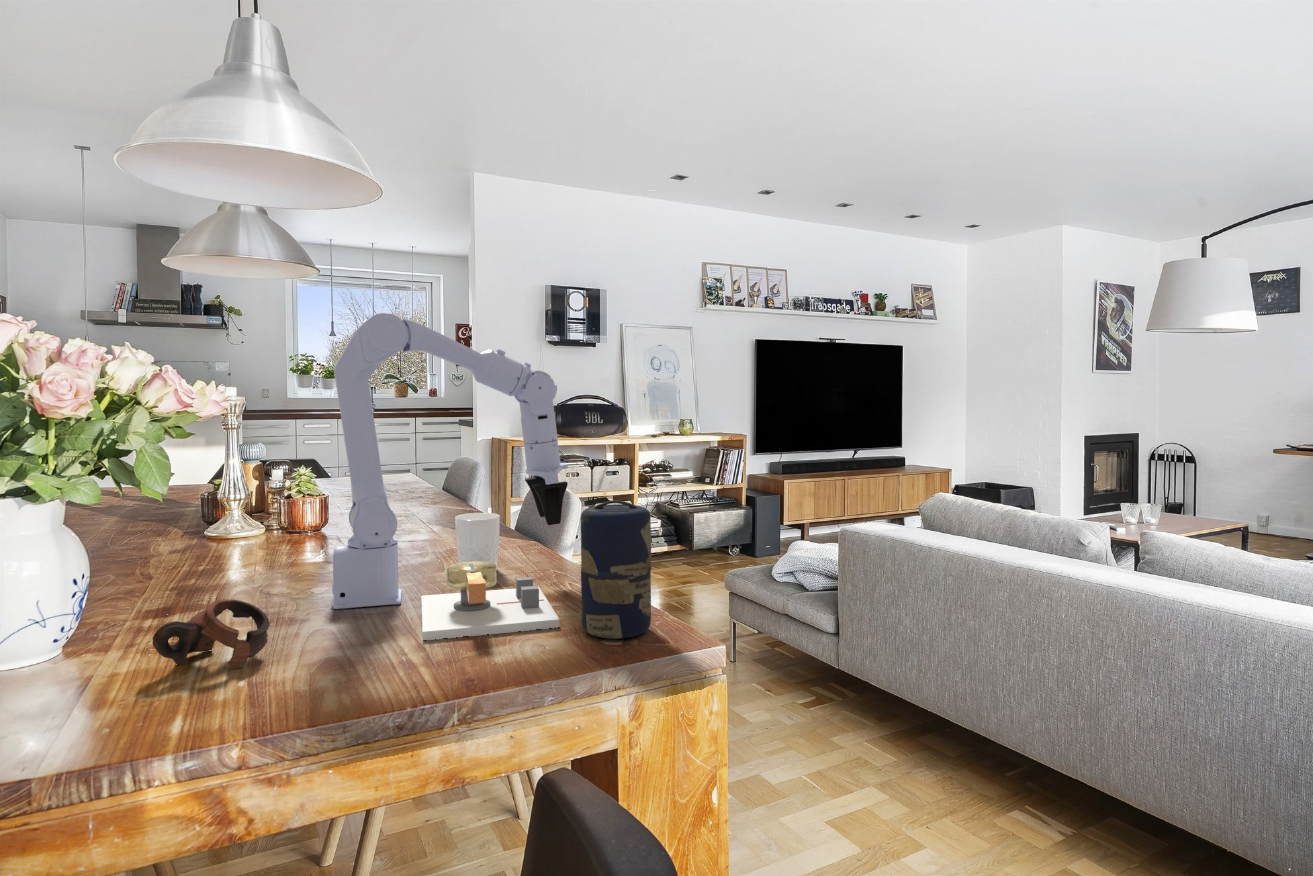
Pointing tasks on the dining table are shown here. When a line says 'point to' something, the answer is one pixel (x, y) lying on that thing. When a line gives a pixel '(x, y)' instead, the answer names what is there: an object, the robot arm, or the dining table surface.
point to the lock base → (487, 612)
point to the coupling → (472, 579)
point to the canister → (616, 570)
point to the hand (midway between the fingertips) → (550, 520)
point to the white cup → (477, 537)
